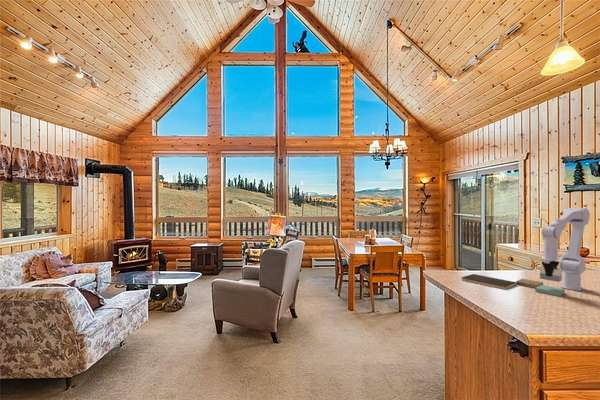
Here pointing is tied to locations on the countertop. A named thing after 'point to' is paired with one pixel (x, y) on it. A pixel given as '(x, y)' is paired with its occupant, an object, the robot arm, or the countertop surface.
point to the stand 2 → (550, 290)
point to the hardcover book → (489, 281)
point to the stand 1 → (528, 283)
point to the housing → (555, 275)
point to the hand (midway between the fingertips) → (550, 275)
